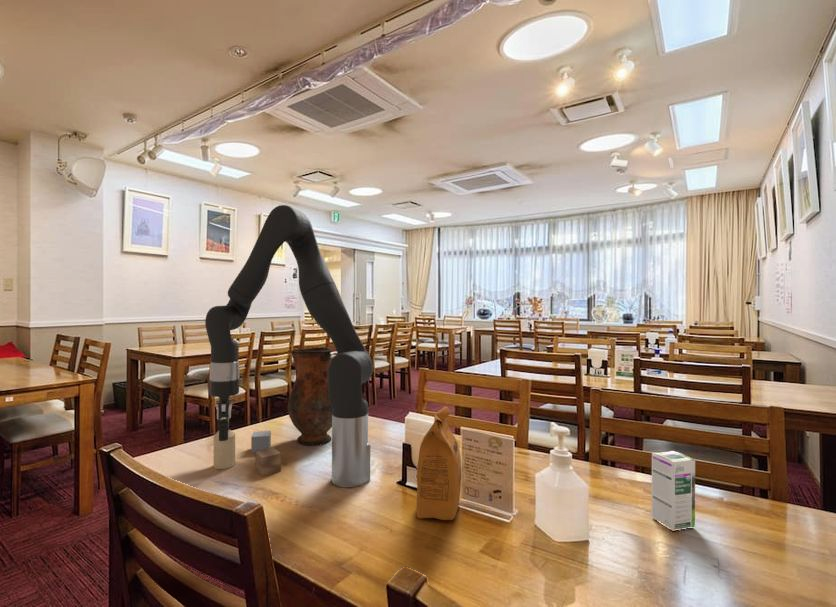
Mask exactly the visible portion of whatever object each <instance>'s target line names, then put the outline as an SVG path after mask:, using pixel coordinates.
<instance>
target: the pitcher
mask: <svg viewBox="0 0 836 607" xmlns="http://www.w3.org/2000/svg"><path fill="white" fill-rule="evenodd" d="M331 352H332V349H331V348H330V347H329V348H328V347H312V348H311V347H310V348H303V349H292V350H290V354H291V355H292V360H293V364H294V369H295V380H294V383H293V386H292V389H291V392H290V394H289V396H288V397H289V399H288V403H287V411H288V417H289V419H290V420H291V422H292V425H293V426H294V427H295V428H296V429H297V431H299V433H300V435H299V436H298V437H297V438H296V442H297V443H299V444H300V445H303V444H305V445H304V446H321V445H320V444H322V445H325V444H328V443H330V441H331V442H332V435H331V436H330V434H328V433H329V431H330V430H332V408H331V405H330V402H329V391H328V369H329V364H330V362H331V360H332V356H336V355H338V353H337V352H334V353H331ZM327 442H328V443H327Z"/></svg>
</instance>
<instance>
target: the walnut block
mask: <svg viewBox="0 0 836 607" xmlns="http://www.w3.org/2000/svg"><path fill="white" fill-rule="evenodd" d="M255 470H256V471H257V473H258V474H259V473H260V474H259V475H260V476H261V477H265V476H267V475H272V474H276V473H280V472H282V453H281V452H280V451H279V450H277V449H276V448H275V447H272V448H271V447H270V449H267V450H262V451H258V452H256V453H255Z"/></svg>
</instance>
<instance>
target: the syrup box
mask: <svg viewBox="0 0 836 607" xmlns="http://www.w3.org/2000/svg"><path fill="white" fill-rule="evenodd" d="M695 506H696V460H695V459H694V458H692V457H690V456H688V455H686V454H684V453H681V452H678V451H674V450H670V451H662V452H652V453H651V518H652V517H653V518H655V519H656V520H658V521H660V522H661V523H663V524H665V525H666V526H668V527H669V528H671V529H673V530H675V529H682V528H688V527H694V526H695V527H696V507H695Z"/></svg>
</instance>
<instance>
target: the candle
mask: <svg viewBox="0 0 836 607" xmlns="http://www.w3.org/2000/svg"><path fill="white" fill-rule="evenodd" d="M235 465H236V432H235V431H233V430H231V429H229V430H228V440H226V441H219V430H218V431H216V433H215V434H214V435H213V468H214V469H215V470H226V469H229V468H233V467H234V466H235Z"/></svg>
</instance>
